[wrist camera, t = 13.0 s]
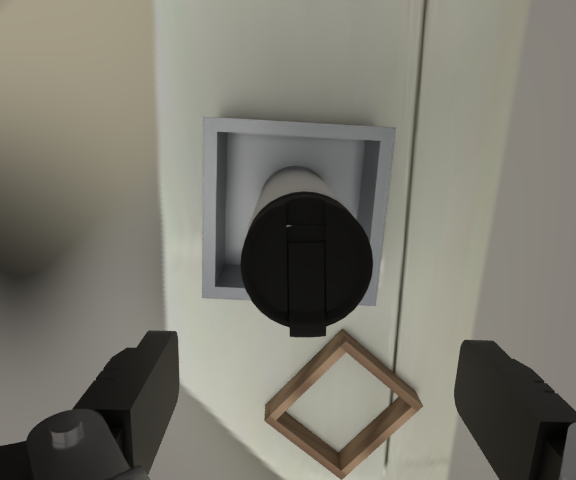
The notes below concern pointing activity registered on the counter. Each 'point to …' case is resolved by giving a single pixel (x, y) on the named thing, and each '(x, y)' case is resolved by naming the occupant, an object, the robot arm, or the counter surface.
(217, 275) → the gray bin
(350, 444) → the walnut holder
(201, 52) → the counter surface
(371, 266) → the travel mug
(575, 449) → the robot arm
